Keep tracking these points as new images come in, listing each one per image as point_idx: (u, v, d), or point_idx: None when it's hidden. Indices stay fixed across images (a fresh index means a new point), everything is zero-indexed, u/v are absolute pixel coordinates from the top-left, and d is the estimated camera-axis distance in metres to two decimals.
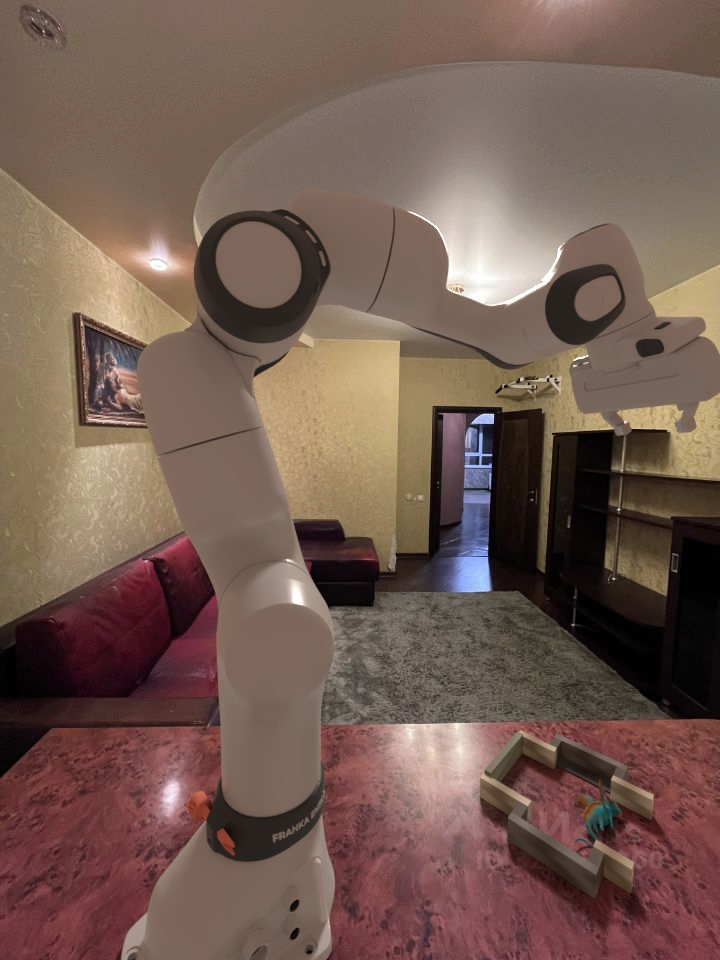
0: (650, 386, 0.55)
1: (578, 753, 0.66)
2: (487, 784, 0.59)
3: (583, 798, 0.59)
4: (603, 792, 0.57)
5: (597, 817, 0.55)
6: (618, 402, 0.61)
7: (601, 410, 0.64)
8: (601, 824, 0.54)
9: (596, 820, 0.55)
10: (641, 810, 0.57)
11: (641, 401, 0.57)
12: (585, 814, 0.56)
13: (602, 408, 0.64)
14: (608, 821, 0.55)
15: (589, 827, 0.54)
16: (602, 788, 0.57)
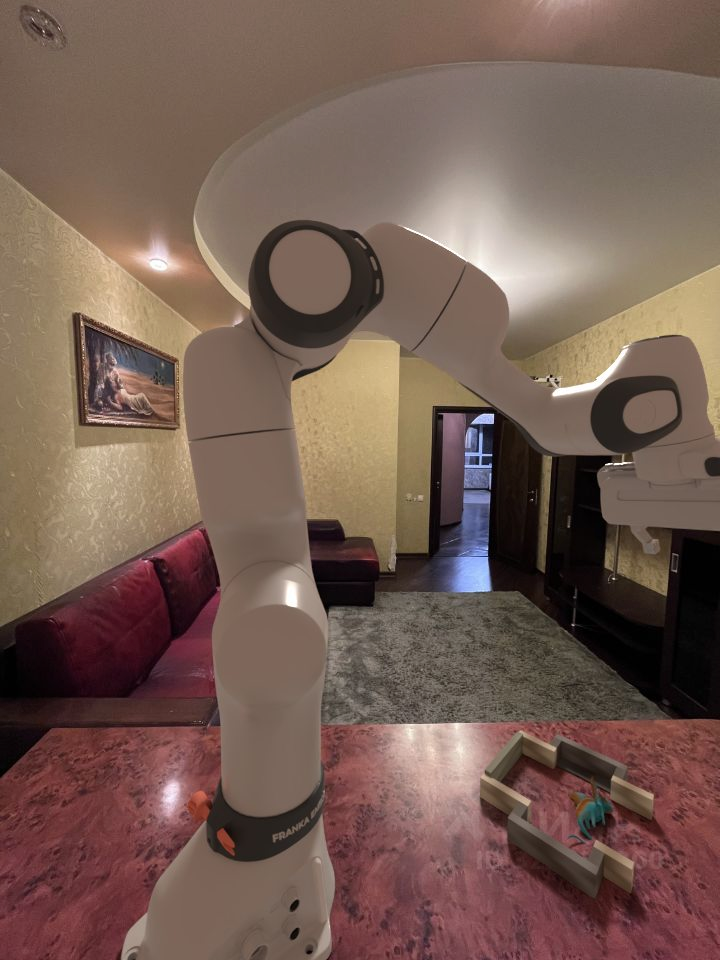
0: (706, 508, 0.51)
1: (578, 753, 0.66)
2: (487, 784, 0.59)
3: (575, 795, 0.60)
4: (595, 789, 0.58)
5: (589, 814, 0.56)
6: (659, 518, 0.56)
7: (634, 523, 0.59)
8: (593, 820, 0.55)
9: (588, 817, 0.56)
10: (641, 810, 0.57)
11: (690, 522, 0.53)
12: (577, 811, 0.56)
13: (636, 521, 0.58)
14: (600, 817, 0.56)
15: (581, 824, 0.55)
16: (594, 785, 0.58)
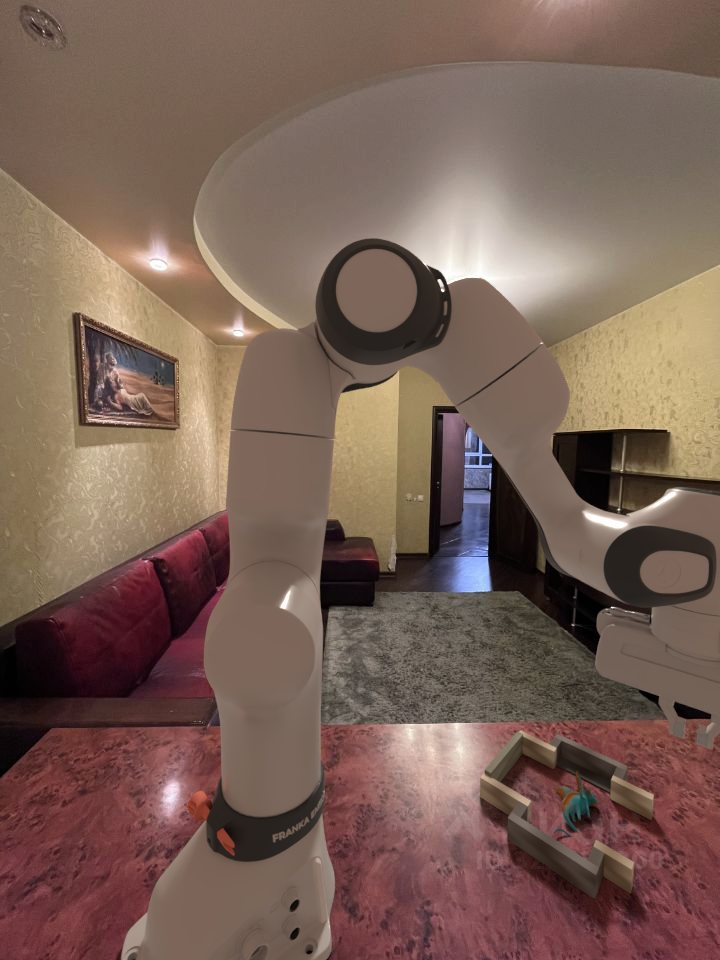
0: None
1: (578, 753, 0.66)
2: (487, 784, 0.59)
3: (561, 789, 0.61)
4: (580, 782, 0.59)
5: (575, 807, 0.57)
6: (668, 688, 0.48)
7: (634, 685, 0.51)
8: (578, 813, 0.56)
9: (574, 810, 0.57)
10: (641, 810, 0.57)
11: (706, 703, 0.46)
12: (563, 805, 0.57)
13: (637, 683, 0.50)
14: (585, 810, 0.57)
15: (567, 817, 0.56)
16: (579, 778, 0.59)
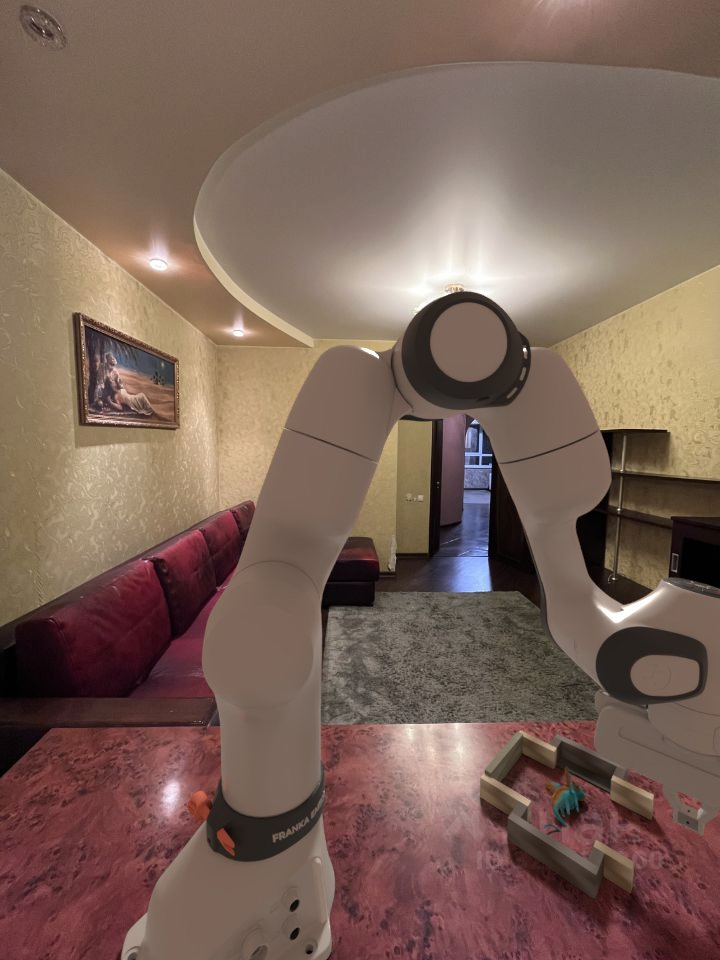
0: None
1: (578, 753, 0.66)
2: (487, 784, 0.59)
3: (550, 785, 0.62)
4: (569, 778, 0.60)
5: (564, 802, 0.57)
6: (665, 776, 0.49)
7: (632, 768, 0.51)
8: (568, 808, 0.57)
9: (563, 805, 0.58)
10: (641, 810, 0.57)
11: (703, 795, 0.47)
12: (553, 800, 0.58)
13: (635, 767, 0.51)
14: (574, 805, 0.58)
15: (557, 812, 0.56)
16: (568, 774, 0.60)
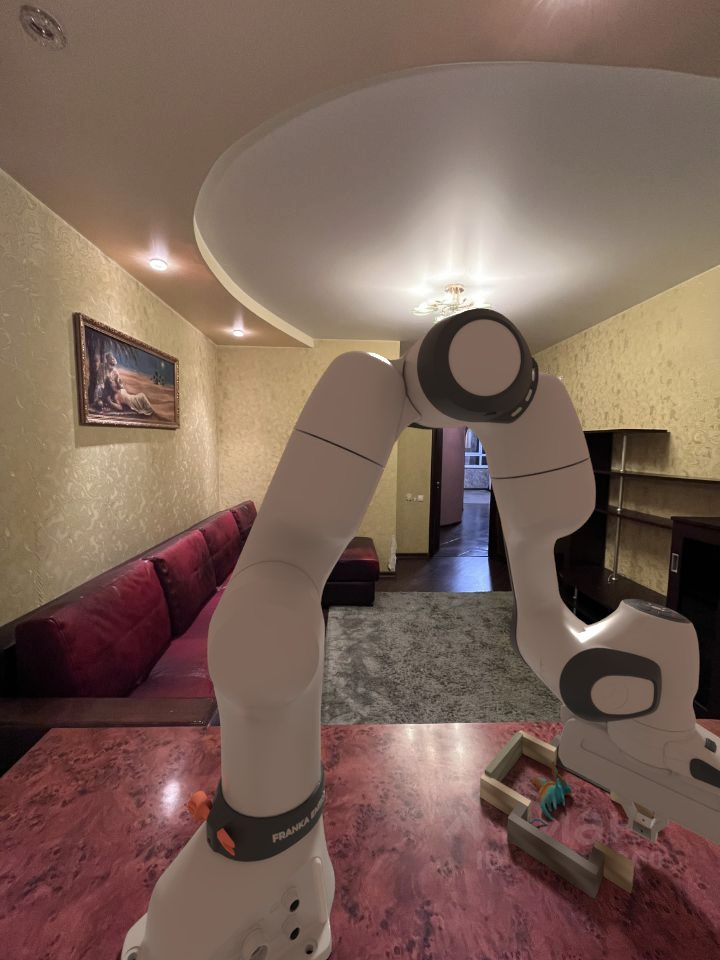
0: (675, 799, 0.48)
1: None
2: (487, 784, 0.59)
3: (537, 780, 0.63)
4: (556, 773, 0.61)
5: (551, 797, 0.58)
6: (621, 786, 0.52)
7: (592, 778, 0.54)
8: (554, 803, 0.58)
9: (550, 800, 0.58)
10: (641, 810, 0.57)
11: (655, 805, 0.49)
12: (540, 795, 0.59)
13: (595, 778, 0.54)
14: (560, 799, 0.59)
15: (544, 807, 0.57)
16: (555, 769, 0.61)
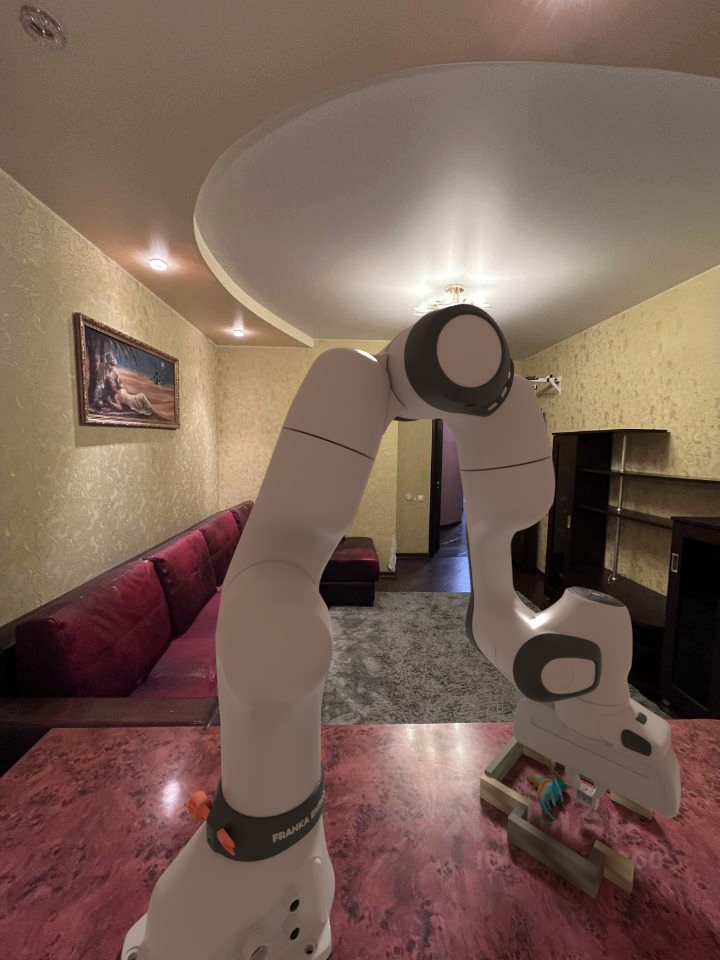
0: (611, 768, 0.53)
1: None
2: (487, 784, 0.59)
3: (534, 778, 0.63)
4: (552, 769, 0.61)
5: (549, 794, 0.59)
6: (566, 758, 0.56)
7: (541, 752, 0.59)
8: (553, 800, 0.58)
9: (548, 797, 0.59)
10: (641, 810, 0.57)
11: (594, 774, 0.54)
12: (539, 793, 0.59)
13: (543, 751, 0.59)
14: (558, 796, 0.59)
15: (543, 805, 0.57)
16: (551, 766, 0.61)
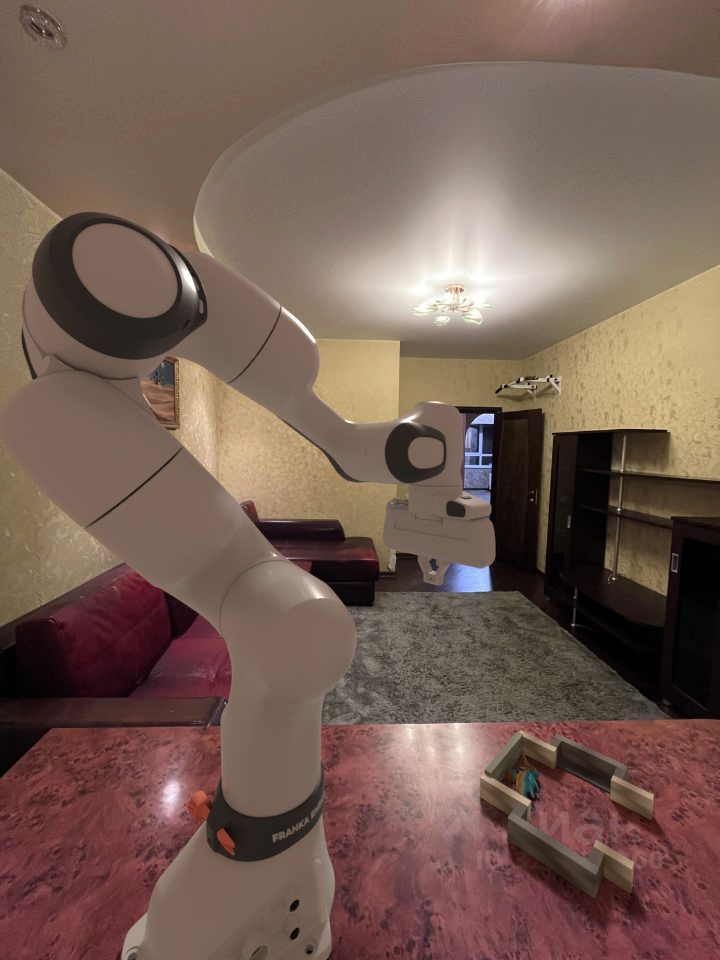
0: (444, 542, 0.64)
1: (578, 753, 0.66)
2: (487, 784, 0.59)
3: (508, 772, 0.64)
4: (526, 761, 0.63)
5: (527, 787, 0.60)
6: (416, 547, 0.68)
7: (401, 549, 0.70)
8: (532, 792, 0.60)
9: (526, 790, 0.60)
10: (641, 810, 0.57)
11: (434, 552, 0.66)
12: (518, 788, 0.60)
13: (402, 548, 0.70)
14: (534, 787, 0.61)
15: None
16: None
